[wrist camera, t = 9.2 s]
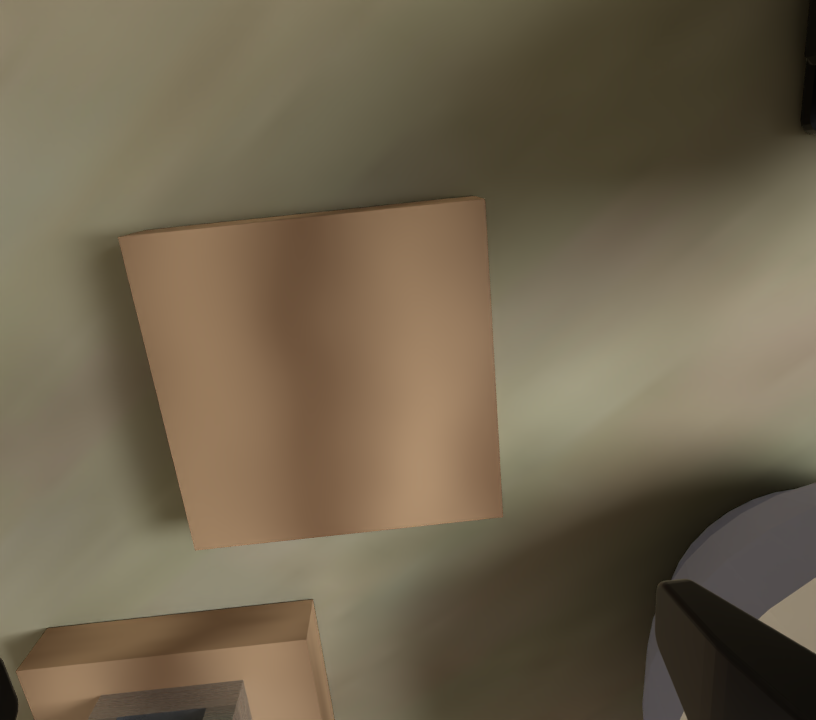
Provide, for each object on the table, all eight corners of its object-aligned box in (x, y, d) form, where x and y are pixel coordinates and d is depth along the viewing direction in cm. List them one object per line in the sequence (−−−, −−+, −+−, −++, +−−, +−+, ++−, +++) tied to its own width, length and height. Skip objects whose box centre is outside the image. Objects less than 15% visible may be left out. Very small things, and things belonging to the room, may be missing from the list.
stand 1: (474, 195, 18) (485, 199, 16) (492, 485, 21) (503, 517, 19) (145, 230, 18) (118, 237, 16) (212, 515, 21) (195, 550, 19)
